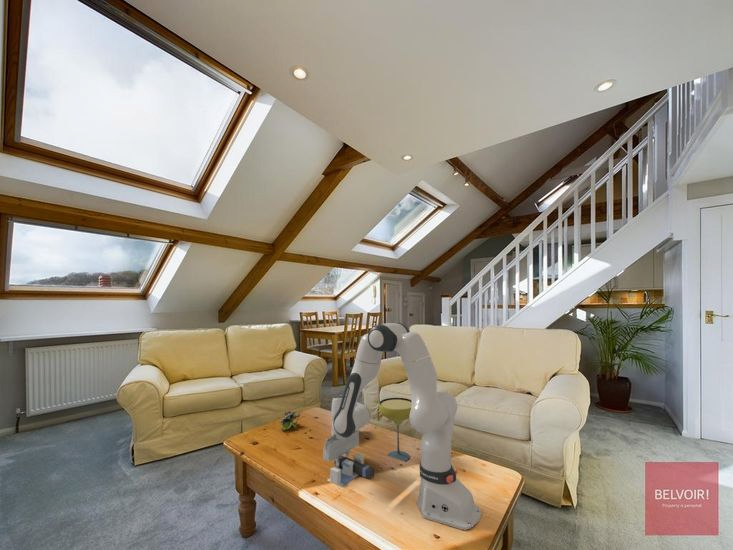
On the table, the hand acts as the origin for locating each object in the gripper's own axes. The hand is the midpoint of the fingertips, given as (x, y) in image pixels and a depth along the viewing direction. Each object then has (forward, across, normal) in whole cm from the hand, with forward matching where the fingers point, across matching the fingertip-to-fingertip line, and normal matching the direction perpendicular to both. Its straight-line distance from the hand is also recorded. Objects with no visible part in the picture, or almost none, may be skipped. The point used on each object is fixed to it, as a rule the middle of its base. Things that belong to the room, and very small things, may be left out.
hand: (341, 463), depth 147 cm
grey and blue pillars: (+2, -4, -7) cm, 8 cm away
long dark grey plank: (+1, 0, -7) cm, 7 cm away
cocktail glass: (+3, +25, -14) cm, 28 cm away
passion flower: (+2, +16, +55) cm, 57 cm away
